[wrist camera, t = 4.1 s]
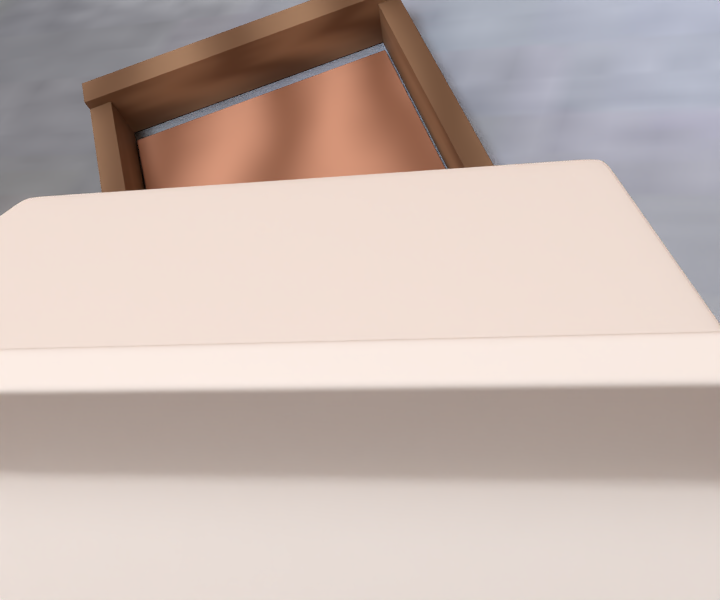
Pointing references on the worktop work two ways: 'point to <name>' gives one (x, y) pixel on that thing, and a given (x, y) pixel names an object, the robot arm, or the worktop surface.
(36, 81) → the worktop surface
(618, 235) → the milk
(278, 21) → the bay
